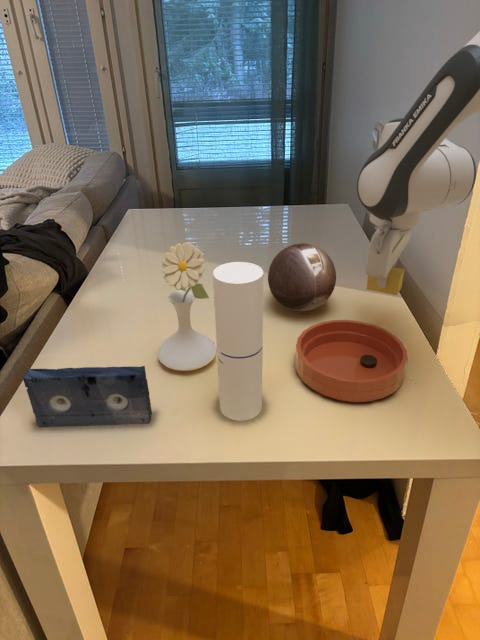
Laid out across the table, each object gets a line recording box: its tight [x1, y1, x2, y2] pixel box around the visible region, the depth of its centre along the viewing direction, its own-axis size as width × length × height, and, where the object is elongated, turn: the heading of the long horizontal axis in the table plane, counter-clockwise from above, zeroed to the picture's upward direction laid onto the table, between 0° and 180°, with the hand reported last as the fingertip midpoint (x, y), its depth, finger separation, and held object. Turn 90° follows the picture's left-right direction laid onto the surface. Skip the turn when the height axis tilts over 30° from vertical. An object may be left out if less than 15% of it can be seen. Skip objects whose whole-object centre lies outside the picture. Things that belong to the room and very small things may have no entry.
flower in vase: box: [157, 241, 217, 372], centre depth 84 cm, size 13×11×25 cm
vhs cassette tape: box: [22, 365, 153, 428], centre depth 74 cm, size 18×3×10 cm, turn 90°
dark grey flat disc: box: [360, 355, 377, 368], centre depth 87 cm, size 3×3×1 cm
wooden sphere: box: [267, 243, 337, 312], centre depth 104 cm, size 15×15×15 cm
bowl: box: [294, 319, 409, 403], centre depth 86 cm, size 20×20×5 cm
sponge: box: [365, 266, 405, 296], centre depth 92 cm, size 6×4×4 cm, turn 61°
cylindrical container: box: [212, 261, 264, 422], centre depth 72 cm, size 7×7×25 cm
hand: (385, 280), depth 92 cm, fingers closed on sponge, 4 cm apart
